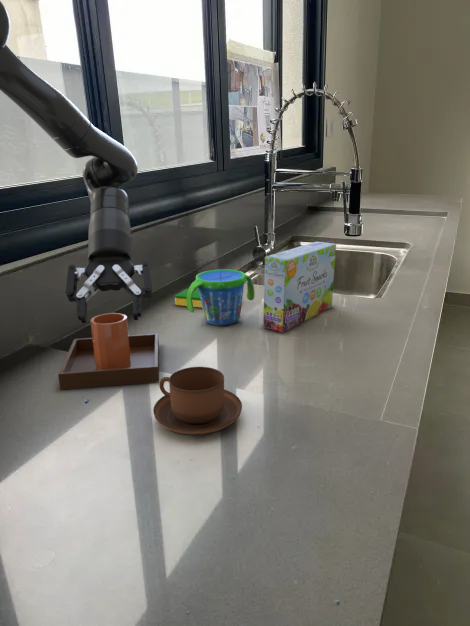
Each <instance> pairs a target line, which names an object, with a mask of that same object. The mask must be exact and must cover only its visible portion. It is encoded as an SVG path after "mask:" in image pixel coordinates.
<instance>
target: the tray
mask: <svg viewBox="0 0 470 626" xmlns="http://www.w3.org/2000/svg"><path fill="white" fill-rule="evenodd" d="M129 343H130V354H131V366H130V367H129V368H116V369H102V370H97V369H96V365H95V357H94V348H93V339H92V337H83V338H74V339H73V341H72V343H71V345H70V347H69V348H68V352H67V354H66V356H65V358H64V361H63V363H62V365H61V367H60V369H59V371H58V374H57V376H58V384H59V390H60V391H62V390H63V391H64V390H77V389H87V388H88V389H89V388H101V387H103V388H104V387H115V386H127V385H141V384H150V383H152V384H153V383H159V382H160V339H159V333H157V332H156V333H143V334H142V333H141V334H129Z"/></svg>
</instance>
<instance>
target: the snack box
mask: <svg viewBox="0 0 470 626" xmlns="http://www.w3.org/2000/svg"><path fill="white" fill-rule="evenodd" d="M336 250H337V243H331V242H326V241H325V242H324V241H314V242H310V243H307V244H304V245H300V246H296V247H293V248H291V249H287V250H284V251H280V252H277V253H273V254H270V255H266V256H264V279H263V282H264V283H263V318H262V319H263V320H262V321H263V323H262V324H263V325H262V327H263V328H266V329H269V330H272V331H276V332H279V333H285V332H287V331H288V330H290V329H292V328H294V327H297V326H298V325H300V324H302V323H304V322H306V321H308V320H310V319H312V318H314V317H316V316H318V315H320V314H321V313H323V312H326V311H327V310H329V309H331V308H332V307H333V295H334V281H335V280H334V279H335V267H336V253H337V252H336Z"/></svg>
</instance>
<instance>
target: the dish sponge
mask: <svg viewBox="0 0 470 626" xmlns="http://www.w3.org/2000/svg"><path fill="white" fill-rule="evenodd" d="M188 290H189V287H188V288H186V289H184V290H182V291H181V292H179V293H177V294H175V295H174V304H175V306H181V307H187V302H186V301H187V293H188ZM192 303H193V308H201V309H203V308H202V303H201V298H200V292H199V289H198V288H196V289H195V291H194V292H193V294H192Z"/></svg>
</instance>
